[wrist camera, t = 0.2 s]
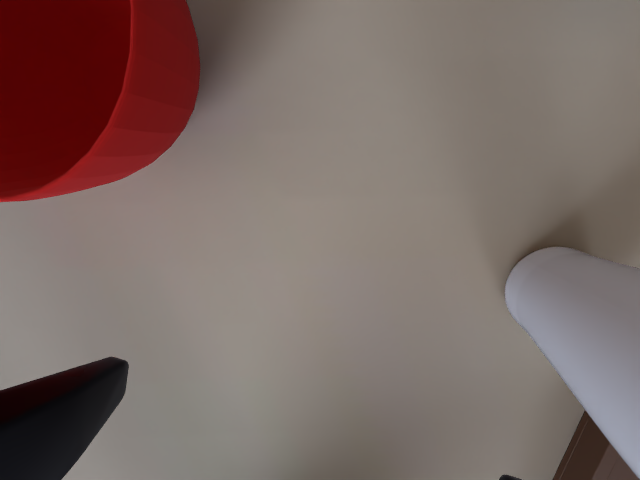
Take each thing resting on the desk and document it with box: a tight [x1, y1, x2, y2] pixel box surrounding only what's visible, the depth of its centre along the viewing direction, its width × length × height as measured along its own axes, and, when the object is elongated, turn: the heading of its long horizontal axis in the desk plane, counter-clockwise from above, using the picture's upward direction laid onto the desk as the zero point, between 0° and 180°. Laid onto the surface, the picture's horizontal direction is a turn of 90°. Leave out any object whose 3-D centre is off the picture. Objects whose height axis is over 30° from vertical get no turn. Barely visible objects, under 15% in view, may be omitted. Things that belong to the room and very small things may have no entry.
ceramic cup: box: [0, 0, 200, 202], centre depth 17 cm, size 13×17×10 cm
